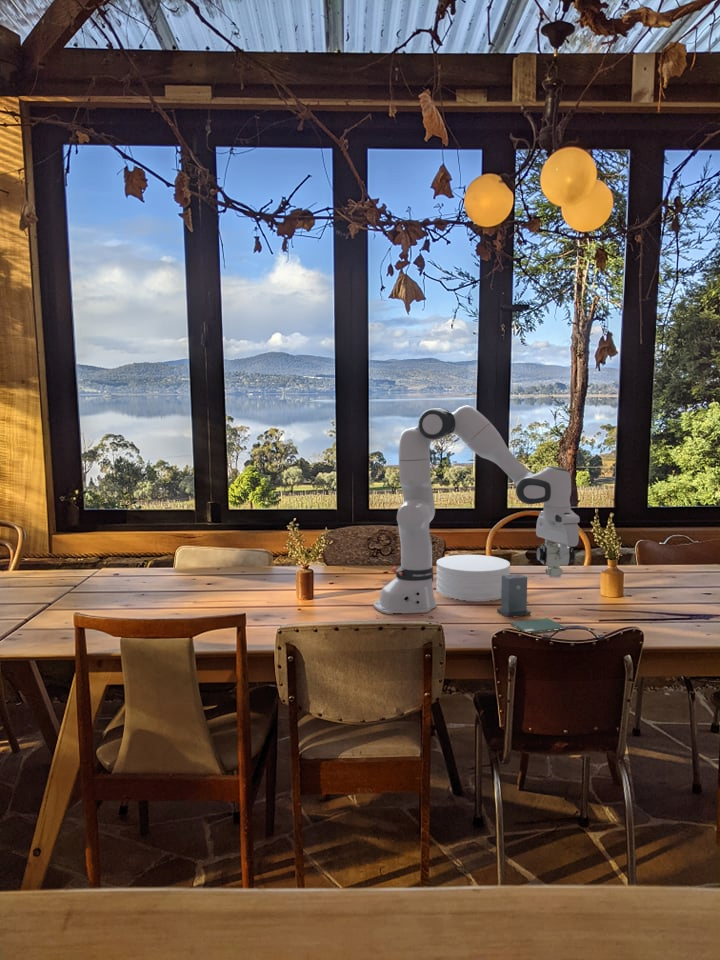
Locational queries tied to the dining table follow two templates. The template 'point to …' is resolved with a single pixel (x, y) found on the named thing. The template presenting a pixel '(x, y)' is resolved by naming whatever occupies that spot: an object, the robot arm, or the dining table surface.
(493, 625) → the dining table surface
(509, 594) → the block
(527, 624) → the mat
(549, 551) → the pneumatic valve
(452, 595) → the plate stack
